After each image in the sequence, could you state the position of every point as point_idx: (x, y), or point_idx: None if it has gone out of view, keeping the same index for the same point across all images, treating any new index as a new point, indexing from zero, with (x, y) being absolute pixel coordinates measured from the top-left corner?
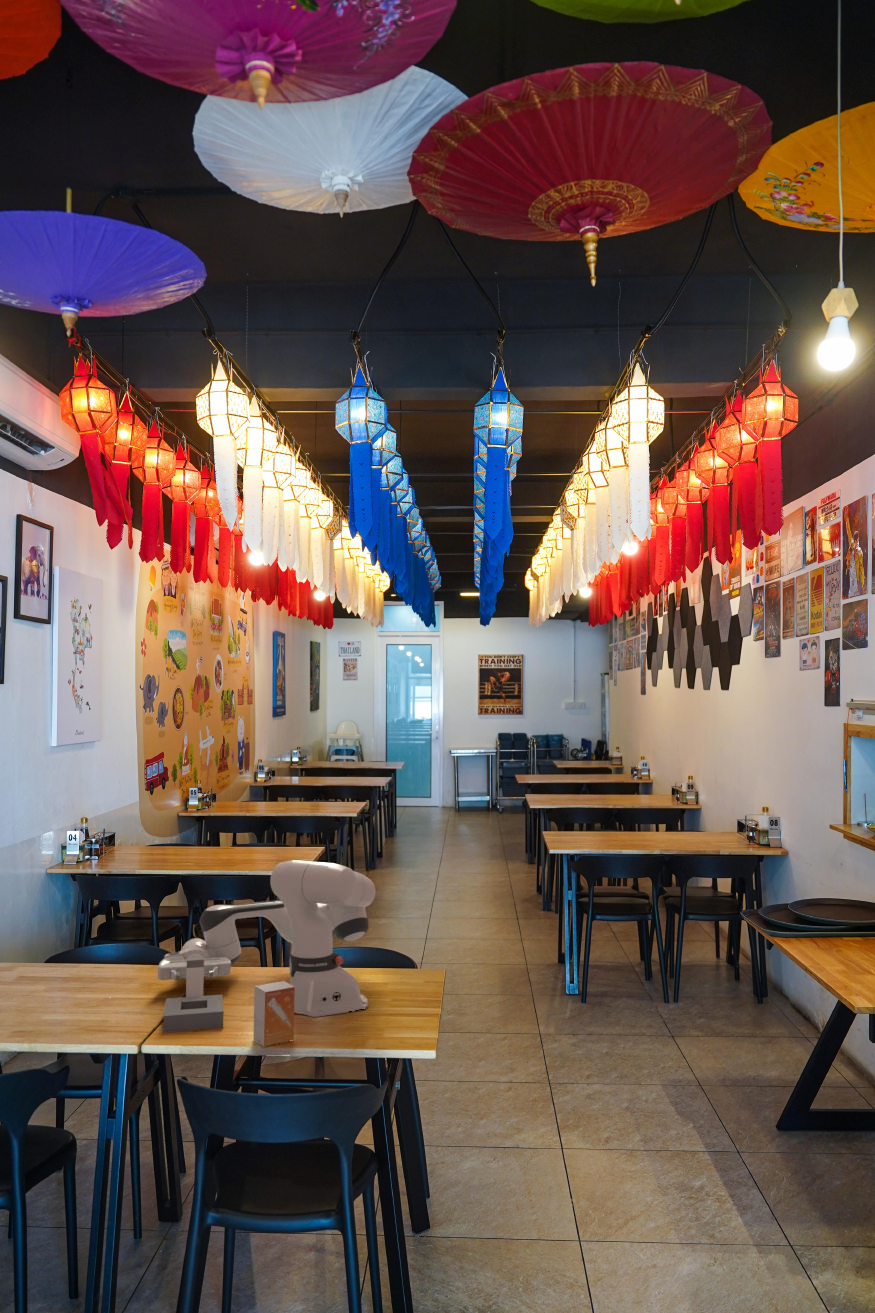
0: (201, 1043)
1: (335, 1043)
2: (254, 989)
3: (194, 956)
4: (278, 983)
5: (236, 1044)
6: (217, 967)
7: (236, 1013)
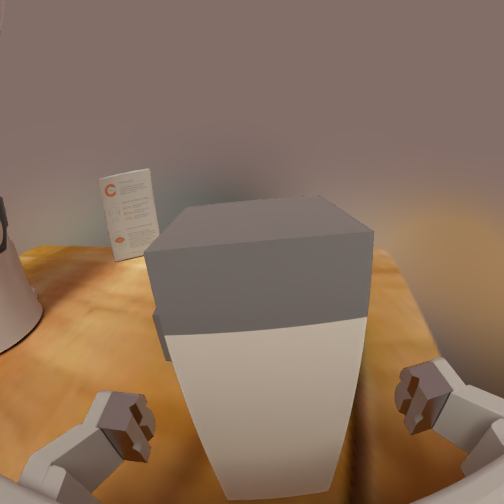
0: None
1: (84, 248)
2: (150, 173)
3: (272, 231)
4: (113, 175)
5: None
6: (37, 453)
7: (136, 333)
